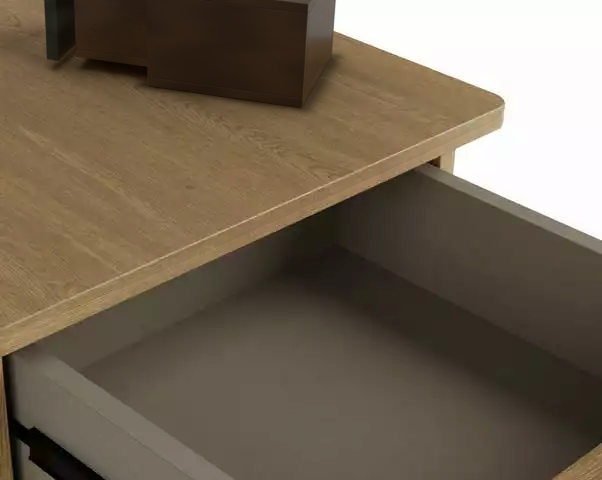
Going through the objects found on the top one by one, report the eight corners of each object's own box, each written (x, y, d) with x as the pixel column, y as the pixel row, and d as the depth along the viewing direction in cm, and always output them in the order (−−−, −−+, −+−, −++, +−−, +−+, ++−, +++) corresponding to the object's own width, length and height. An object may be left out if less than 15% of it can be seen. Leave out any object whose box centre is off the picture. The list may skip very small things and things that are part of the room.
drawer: (-21, 50, 123) (-27, -32, 119) (31, 8, 134) (27, -68, 130) (184, 79, 120) (185, -4, 116) (221, 34, 131) (223, -43, 127)
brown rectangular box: (147, 85, 121) (146, -17, 116) (190, 37, 132) (191, -59, 127) (301, 108, 119) (308, 4, 113) (331, 56, 130) (338, -41, 125)
